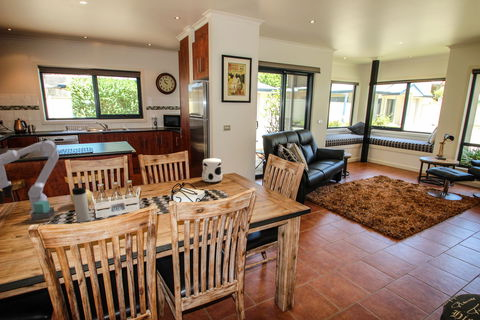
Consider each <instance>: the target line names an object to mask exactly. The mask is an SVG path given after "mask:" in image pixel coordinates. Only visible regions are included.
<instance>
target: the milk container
mask: <svg viewBox="0 0 480 320" xmlns="http://www.w3.org/2000/svg"><path fill="white" fill-rule="evenodd" d="M223 177H224V176H223V171H222V160H221V159H220V158H212V157H211V158H204V159H203V160H202V173H201V178H202V181H203V182H206V183H210V184H211V183H212V184H213V183H218V182H221V181H222V180H223Z"/></svg>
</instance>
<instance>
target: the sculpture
mask: <svg viewBox="0 0 480 320" xmlns="http://www.w3.org/2000/svg"><path fill="white" fill-rule="evenodd" d="M86 195H87V202H88V205H90V204H92V202H93V200H92V196H93V197H94V195H93V193H92V191H90V189H87V188H86ZM70 201H71V202H72V203H73V205H74V199H73V193H71V195H70Z"/></svg>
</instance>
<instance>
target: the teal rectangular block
mask: <svg viewBox="0 0 480 320" xmlns="http://www.w3.org/2000/svg"><path fill="white" fill-rule="evenodd" d="M33 206H34V211H35V214H36V213H46V212H48V211H49V210H50V207H51V205H50V201H49V200H48V201H38V202H36V203H35V204H33Z"/></svg>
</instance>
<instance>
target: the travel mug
mask: <svg viewBox="0 0 480 320" xmlns="http://www.w3.org/2000/svg"><path fill="white" fill-rule="evenodd" d="M86 189H87V188H86V187H85V186H81V187H73V188H72V189H71V190H72V191H71V192H72V194H73V199H74V204H73V205H74V212H75V219H76V223H77V224H81V223H80V222H86V223H88V222H90V221H91V218H90V211H89V204H88V202H87V195H86Z"/></svg>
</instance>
